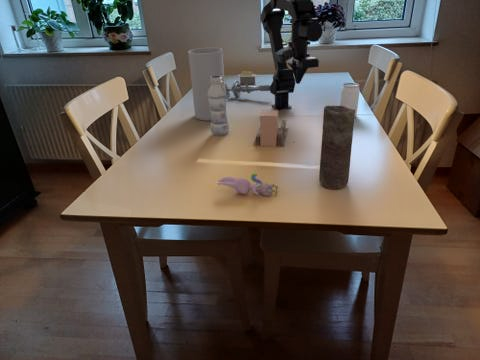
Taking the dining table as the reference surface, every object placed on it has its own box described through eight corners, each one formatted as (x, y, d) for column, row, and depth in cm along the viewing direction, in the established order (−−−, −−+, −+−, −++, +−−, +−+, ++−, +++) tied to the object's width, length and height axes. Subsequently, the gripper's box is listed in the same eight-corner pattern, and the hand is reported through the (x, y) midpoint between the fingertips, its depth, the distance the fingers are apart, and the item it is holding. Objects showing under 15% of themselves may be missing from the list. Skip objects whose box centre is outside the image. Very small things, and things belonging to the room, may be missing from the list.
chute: (260, 129, 126) (260, 119, 124) (288, 130, 124) (288, 120, 122) (252, 147, 112) (252, 136, 110) (284, 149, 110) (284, 137, 108)
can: (357, 119, 131) (361, 87, 125) (339, 118, 132) (342, 87, 126) (355, 113, 136) (359, 82, 130) (338, 113, 138) (341, 82, 132)
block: (262, 139, 116) (262, 110, 111) (277, 140, 115) (278, 110, 110) (260, 145, 111) (260, 115, 106) (276, 146, 110) (276, 116, 105)
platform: (234, 81, 191) (233, 69, 188) (266, 81, 187) (266, 69, 184) (228, 87, 181) (227, 74, 178) (263, 87, 177) (262, 74, 174)
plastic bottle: (232, 132, 125) (229, 74, 115) (225, 139, 119) (221, 79, 109) (215, 130, 127) (210, 74, 117) (207, 137, 121) (202, 78, 111)
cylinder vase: (232, 114, 141) (229, 49, 129) (210, 123, 133) (204, 54, 121) (211, 109, 149) (206, 46, 136) (188, 117, 141) (181, 51, 129)
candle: (315, 176, 94) (320, 103, 84) (341, 174, 94) (350, 101, 85) (323, 191, 87) (330, 113, 78) (352, 189, 88) (362, 111, 78)
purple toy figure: (276, 192, 91) (219, 182, 92) (280, 172, 88) (221, 161, 89) (275, 205, 85) (214, 194, 86) (279, 184, 82) (216, 173, 83)
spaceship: (269, 85, 148) (274, 74, 153) (197, 88, 162) (204, 78, 167) (273, 100, 154) (277, 89, 158) (203, 102, 168) (209, 92, 173)
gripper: (267, 37, 127) (267, 80, 135) (290, 43, 112) (288, 92, 119) (295, 34, 130) (294, 77, 138) (321, 40, 114) (318, 88, 122)
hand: (297, 83), depth 129 cm, fingers closed
